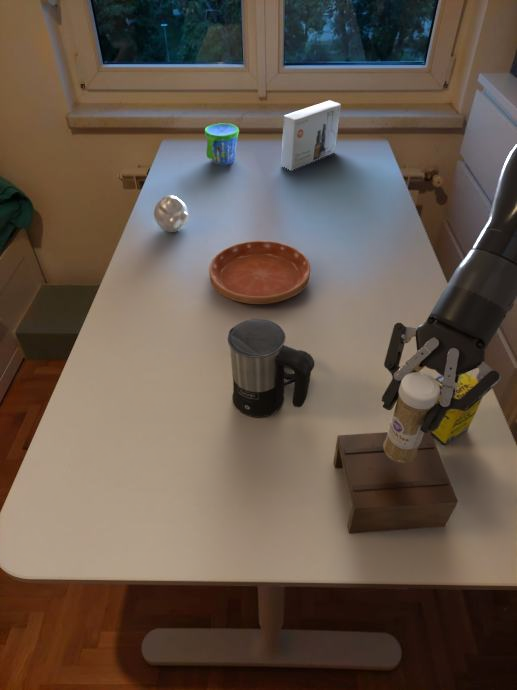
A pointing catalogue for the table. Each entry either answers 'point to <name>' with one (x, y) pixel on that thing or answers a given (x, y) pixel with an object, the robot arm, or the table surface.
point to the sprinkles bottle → (410, 416)
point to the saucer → (259, 272)
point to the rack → (393, 485)
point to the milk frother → (265, 368)
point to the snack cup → (222, 142)
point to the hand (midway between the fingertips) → (405, 419)
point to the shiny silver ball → (171, 214)
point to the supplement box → (456, 412)
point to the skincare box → (309, 134)
